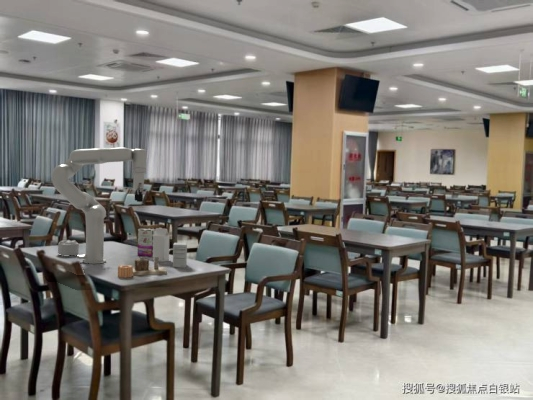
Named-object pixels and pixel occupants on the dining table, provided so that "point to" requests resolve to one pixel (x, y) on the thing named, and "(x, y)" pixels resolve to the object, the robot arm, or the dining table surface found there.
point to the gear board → (144, 268)
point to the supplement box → (179, 254)
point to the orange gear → (125, 271)
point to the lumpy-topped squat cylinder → (68, 247)
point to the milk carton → (161, 244)
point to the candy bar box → (145, 242)
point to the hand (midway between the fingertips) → (138, 201)
